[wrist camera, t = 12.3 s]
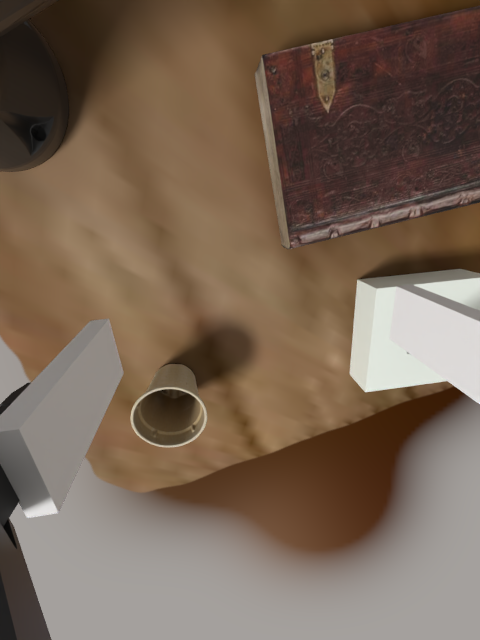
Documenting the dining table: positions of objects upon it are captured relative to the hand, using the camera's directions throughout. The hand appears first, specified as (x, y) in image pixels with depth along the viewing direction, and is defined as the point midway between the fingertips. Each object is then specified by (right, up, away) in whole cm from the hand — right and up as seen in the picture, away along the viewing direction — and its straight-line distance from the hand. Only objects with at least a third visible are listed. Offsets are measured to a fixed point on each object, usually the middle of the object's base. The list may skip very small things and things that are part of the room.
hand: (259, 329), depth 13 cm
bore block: (+24, 0, +32) cm, 40 cm away
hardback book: (+17, +22, +23) cm, 36 cm away
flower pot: (-11, -9, +31) cm, 34 cm away
